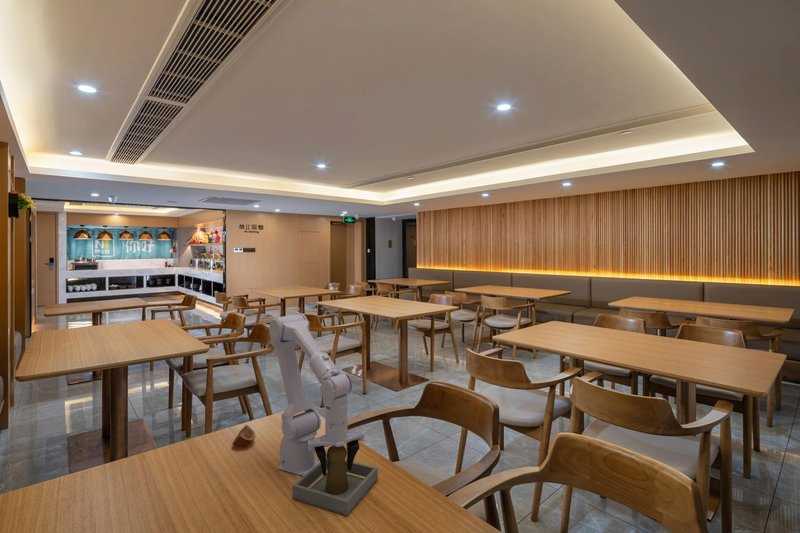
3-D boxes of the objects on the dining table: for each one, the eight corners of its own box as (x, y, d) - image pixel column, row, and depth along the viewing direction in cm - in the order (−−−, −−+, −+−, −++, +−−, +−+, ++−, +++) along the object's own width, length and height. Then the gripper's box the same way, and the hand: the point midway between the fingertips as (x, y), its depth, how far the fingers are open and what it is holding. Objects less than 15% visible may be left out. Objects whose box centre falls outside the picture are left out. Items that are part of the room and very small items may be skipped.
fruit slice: (237, 439, 133) (236, 424, 133) (258, 438, 134) (257, 423, 133) (229, 451, 125) (229, 436, 124) (251, 450, 125) (251, 435, 125)
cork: (345, 495, 102) (345, 453, 102) (322, 494, 103) (322, 452, 102) (350, 481, 108) (350, 442, 108) (328, 480, 109) (328, 440, 108)
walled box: (292, 498, 102) (292, 485, 102) (328, 466, 116) (328, 455, 116) (347, 516, 95) (347, 502, 95) (377, 480, 110) (377, 467, 110)
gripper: (310, 431, 98) (311, 485, 99) (367, 422, 104) (367, 473, 105) (306, 420, 105) (307, 470, 106) (360, 411, 110) (360, 459, 111)
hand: (336, 471), depth 106 cm, fingers open, 6 cm apart
